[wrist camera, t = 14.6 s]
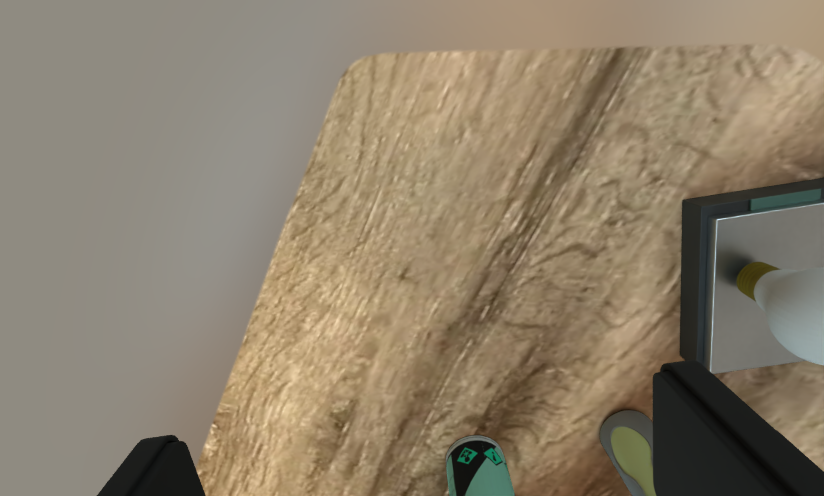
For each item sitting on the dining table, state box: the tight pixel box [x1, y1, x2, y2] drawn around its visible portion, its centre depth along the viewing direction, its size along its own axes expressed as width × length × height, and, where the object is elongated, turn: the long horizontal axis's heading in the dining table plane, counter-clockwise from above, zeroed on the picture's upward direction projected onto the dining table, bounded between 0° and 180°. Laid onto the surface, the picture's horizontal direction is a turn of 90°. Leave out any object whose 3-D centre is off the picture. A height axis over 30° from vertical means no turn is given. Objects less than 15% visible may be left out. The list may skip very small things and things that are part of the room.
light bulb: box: [736, 262, 824, 365], centre depth 30 cm, size 6×6×10 cm
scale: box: [680, 178, 824, 374], centre depth 37 cm, size 14×12×4 cm
